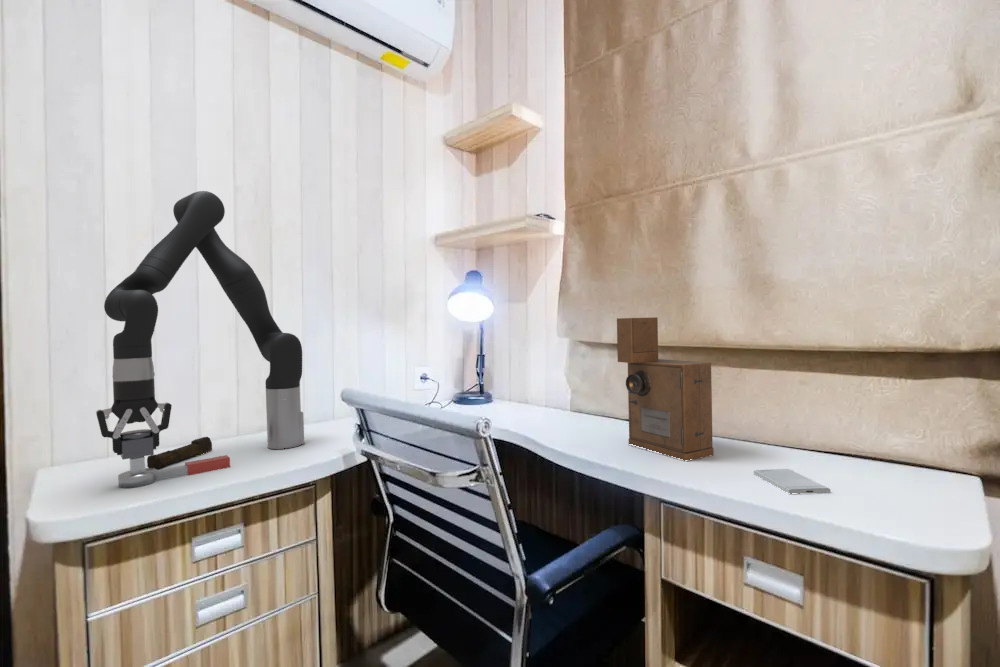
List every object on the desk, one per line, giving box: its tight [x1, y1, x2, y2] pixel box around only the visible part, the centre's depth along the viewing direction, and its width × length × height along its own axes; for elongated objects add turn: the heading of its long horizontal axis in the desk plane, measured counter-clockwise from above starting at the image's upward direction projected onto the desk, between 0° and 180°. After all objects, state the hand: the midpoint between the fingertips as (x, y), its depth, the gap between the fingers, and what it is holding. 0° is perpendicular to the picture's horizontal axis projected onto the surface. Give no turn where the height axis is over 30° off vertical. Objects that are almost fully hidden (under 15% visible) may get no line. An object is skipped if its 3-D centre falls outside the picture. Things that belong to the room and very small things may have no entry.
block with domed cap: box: [120, 428, 155, 460], centre depth 111 cm, size 6×6×5 cm
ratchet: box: [117, 454, 231, 490], centre depth 116 cm, size 22×7×6 cm, turn 132°
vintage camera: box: [616, 317, 715, 461], centre depth 127 cm, size 19×14×35 cm
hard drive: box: [753, 468, 831, 495], centre depth 100 cm, size 2×8×12 cm
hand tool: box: [146, 436, 213, 470], centre depth 131 cm, size 19×4×5 cm, turn 166°
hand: (136, 451), depth 111 cm, fingers closed on block with domed cap, 5 cm apart
